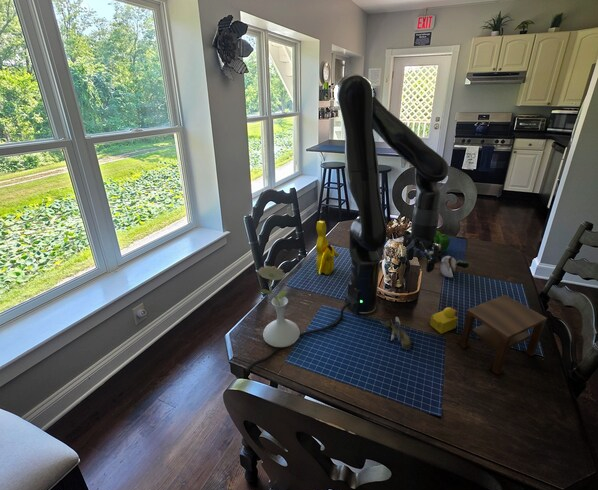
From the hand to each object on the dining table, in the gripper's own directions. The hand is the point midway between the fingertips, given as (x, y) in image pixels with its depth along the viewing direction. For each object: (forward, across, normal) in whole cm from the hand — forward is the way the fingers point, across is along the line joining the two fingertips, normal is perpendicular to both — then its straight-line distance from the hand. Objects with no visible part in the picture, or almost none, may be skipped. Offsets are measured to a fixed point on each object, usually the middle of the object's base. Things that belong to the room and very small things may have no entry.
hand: (419, 265), depth 105 cm
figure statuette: (+17, -36, -15) cm, 42 cm away
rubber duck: (+17, +12, +1) cm, 21 cm away
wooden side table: (+17, +26, +7) cm, 32 cm away
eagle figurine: (+17, +9, -16) cm, 25 cm away
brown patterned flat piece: (+18, -33, +20) cm, 43 cm away
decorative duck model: (+18, -8, +28) cm, 35 cm away
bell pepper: (+18, -26, +40) cm, 51 cm away
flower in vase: (+16, -8, -48) cm, 51 cm away
